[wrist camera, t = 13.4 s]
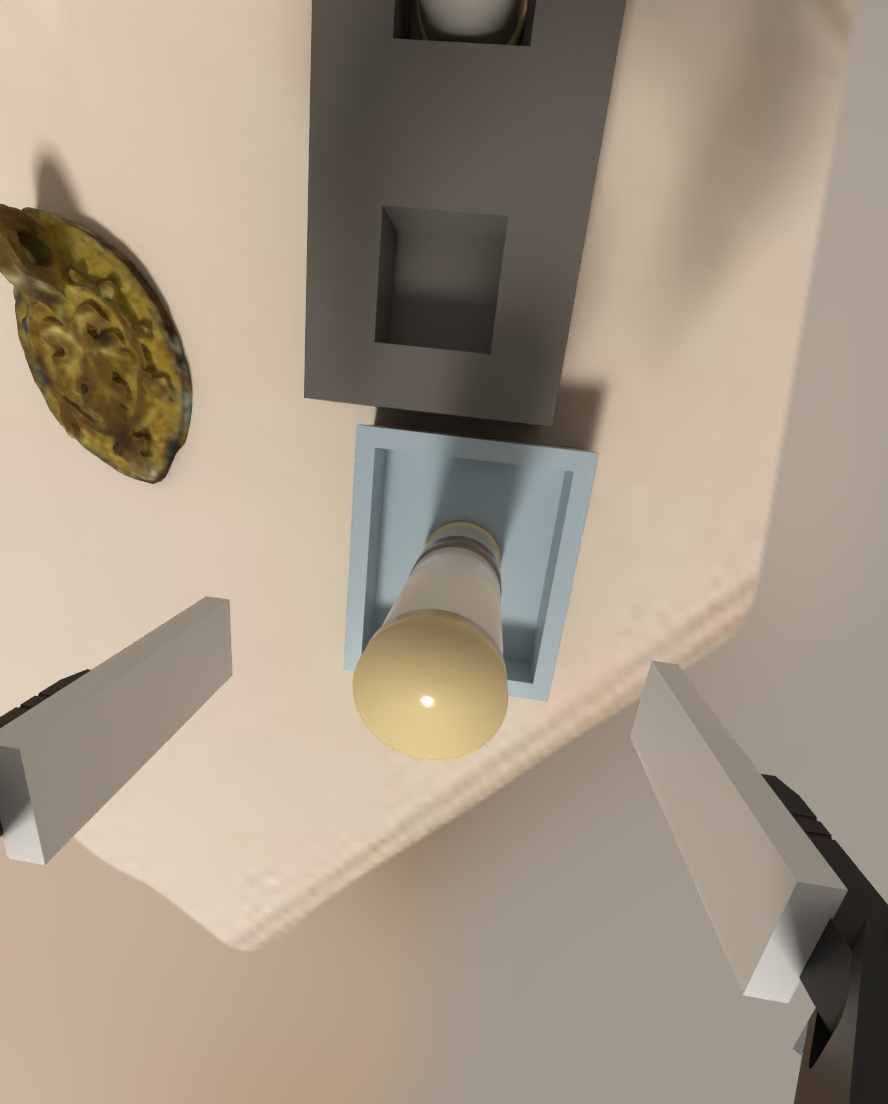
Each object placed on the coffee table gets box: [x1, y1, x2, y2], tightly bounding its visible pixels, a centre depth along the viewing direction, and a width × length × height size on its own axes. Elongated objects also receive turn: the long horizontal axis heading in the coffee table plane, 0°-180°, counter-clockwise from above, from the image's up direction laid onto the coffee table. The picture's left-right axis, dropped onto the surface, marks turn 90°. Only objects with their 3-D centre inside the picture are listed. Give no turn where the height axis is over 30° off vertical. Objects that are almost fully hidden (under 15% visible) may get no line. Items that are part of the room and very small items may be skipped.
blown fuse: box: [353, 520, 508, 761], centre depth 20 cm, size 5×5×14 cm
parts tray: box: [344, 425, 599, 702], centre depth 26 cm, size 14×12×3 cm
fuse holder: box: [304, 0, 626, 426], centre depth 20 cm, size 22×12×4 cm, turn 174°
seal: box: [0, 204, 192, 484], centre depth 25 cm, size 9×5×15 cm
